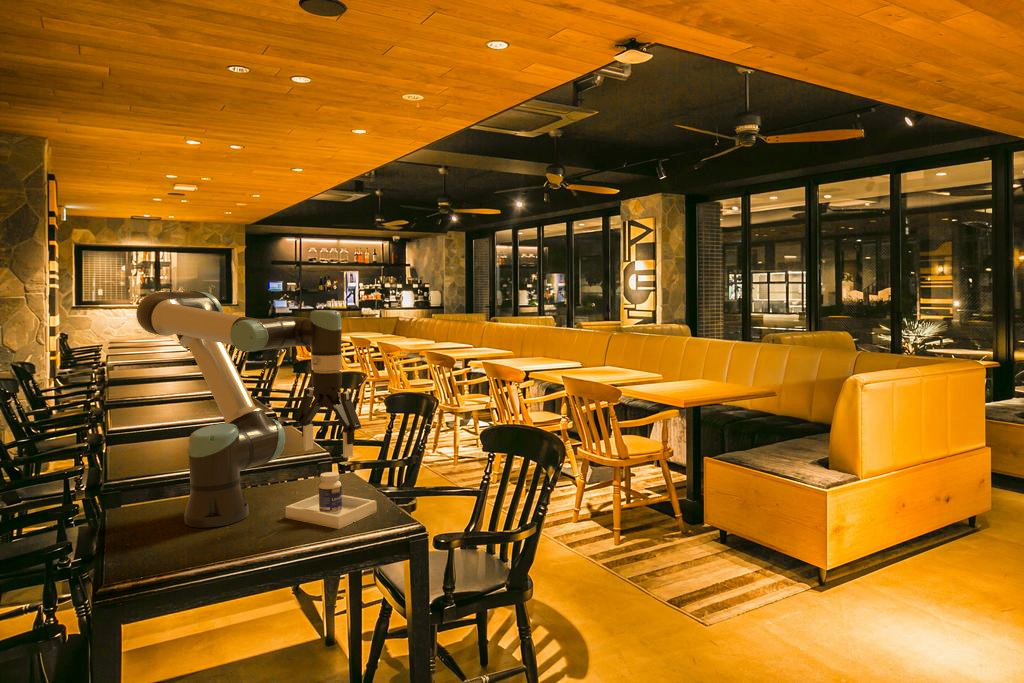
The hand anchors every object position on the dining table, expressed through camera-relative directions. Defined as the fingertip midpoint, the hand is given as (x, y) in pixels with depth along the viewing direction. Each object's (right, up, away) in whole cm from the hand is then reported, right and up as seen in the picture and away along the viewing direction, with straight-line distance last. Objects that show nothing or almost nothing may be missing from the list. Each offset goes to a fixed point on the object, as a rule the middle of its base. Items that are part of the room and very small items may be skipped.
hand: (327, 453), depth 175 cm
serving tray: (+1, -16, +1) cm, 16 cm away
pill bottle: (+1, -16, +1) cm, 16 cm away
